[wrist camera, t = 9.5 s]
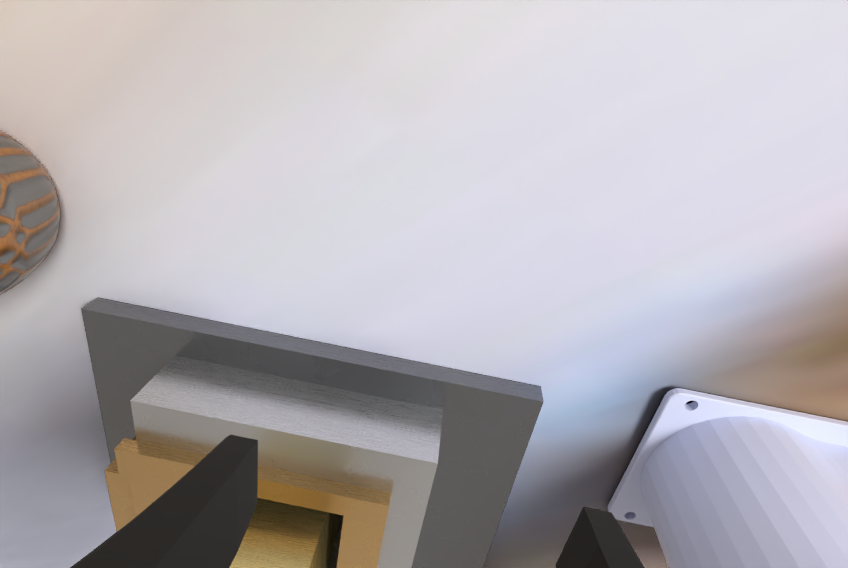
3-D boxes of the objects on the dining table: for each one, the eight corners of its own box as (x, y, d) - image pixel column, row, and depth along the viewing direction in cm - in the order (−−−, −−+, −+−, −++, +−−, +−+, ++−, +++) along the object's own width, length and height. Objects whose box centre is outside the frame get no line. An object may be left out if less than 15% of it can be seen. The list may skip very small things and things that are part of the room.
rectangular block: (344, 458, 23) (288, 631, 16) (341, 517, 25) (289, 693, 18) (258, 444, 23) (167, 608, 16) (262, 503, 25) (181, 672, 18)
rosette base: (540, 386, 21) (555, 469, 17) (469, 586, 28) (467, 680, 24) (97, 297, 21) (6, 357, 17) (135, 516, 28) (76, 597, 24)
